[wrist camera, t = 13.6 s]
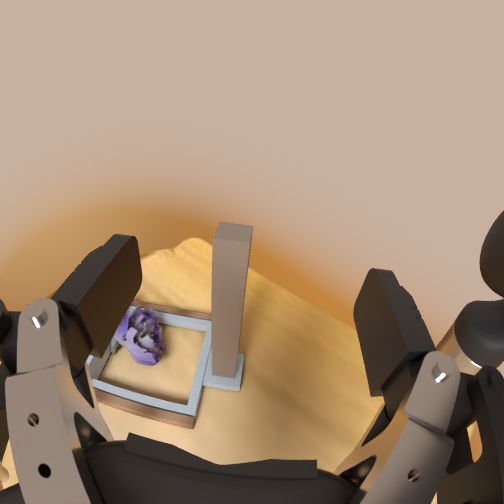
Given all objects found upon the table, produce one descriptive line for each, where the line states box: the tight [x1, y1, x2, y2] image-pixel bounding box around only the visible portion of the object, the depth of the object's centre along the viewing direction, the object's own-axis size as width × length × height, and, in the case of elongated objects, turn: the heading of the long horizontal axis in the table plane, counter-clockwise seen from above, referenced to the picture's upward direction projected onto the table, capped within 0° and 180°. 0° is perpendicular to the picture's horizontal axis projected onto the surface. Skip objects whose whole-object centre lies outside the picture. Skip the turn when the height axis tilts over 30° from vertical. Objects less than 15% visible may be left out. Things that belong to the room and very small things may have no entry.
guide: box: [94, 300, 211, 429], centre depth 37 cm, size 28×20×2 cm
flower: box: [111, 304, 165, 365], centre depth 36 cm, size 9×9×10 cm
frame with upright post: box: [86, 222, 253, 419], centre depth 31 cm, size 22×17×23 cm
